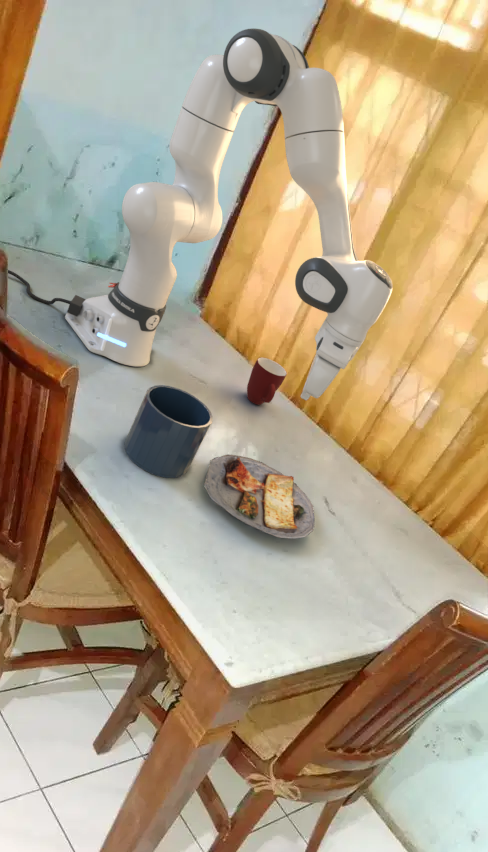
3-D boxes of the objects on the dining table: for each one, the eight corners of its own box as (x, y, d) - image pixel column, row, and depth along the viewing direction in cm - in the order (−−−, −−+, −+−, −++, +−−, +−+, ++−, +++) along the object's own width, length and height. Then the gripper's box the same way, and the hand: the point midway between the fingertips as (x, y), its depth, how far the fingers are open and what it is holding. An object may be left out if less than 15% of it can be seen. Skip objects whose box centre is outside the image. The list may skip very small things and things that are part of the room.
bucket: (110, 438, 137) (132, 387, 131) (159, 431, 148) (182, 383, 141) (152, 482, 132) (177, 431, 126) (200, 472, 142) (225, 424, 136)
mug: (277, 418, 178) (296, 384, 173) (251, 413, 173) (269, 378, 168) (261, 393, 185) (278, 360, 180) (235, 388, 180) (252, 354, 175)
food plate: (211, 448, 152) (217, 434, 150) (309, 492, 156) (316, 480, 154) (194, 513, 131) (202, 498, 129) (308, 562, 135) (317, 549, 133)
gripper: (328, 319, 153) (297, 372, 161) (318, 349, 136) (284, 407, 143) (354, 333, 154) (322, 386, 161) (347, 365, 137) (311, 423, 144)
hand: (304, 396), depth 152 cm, fingers closed
